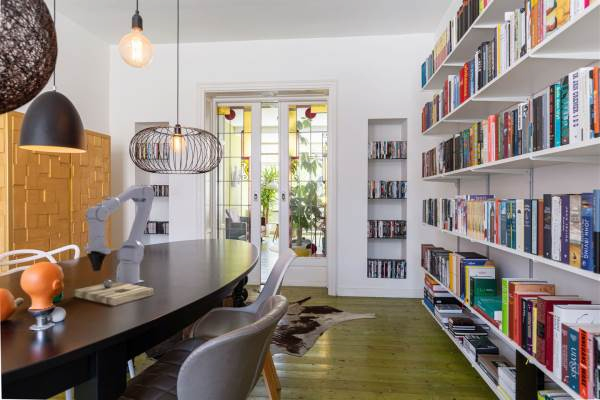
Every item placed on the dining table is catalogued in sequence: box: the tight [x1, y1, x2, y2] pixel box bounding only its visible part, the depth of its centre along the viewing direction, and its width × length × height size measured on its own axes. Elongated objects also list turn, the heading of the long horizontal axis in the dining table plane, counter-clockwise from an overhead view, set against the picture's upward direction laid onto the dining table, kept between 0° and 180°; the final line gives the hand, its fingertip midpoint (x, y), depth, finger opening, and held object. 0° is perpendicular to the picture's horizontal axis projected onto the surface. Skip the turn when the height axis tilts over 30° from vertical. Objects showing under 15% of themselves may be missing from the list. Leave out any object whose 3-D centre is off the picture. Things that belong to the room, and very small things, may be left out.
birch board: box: [74, 280, 154, 306], centre depth 135 cm, size 24×16×2 cm, turn 61°
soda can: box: [53, 266, 64, 303], centre depth 128 cm, size 5×5×12 cm
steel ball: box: [102, 279, 113, 288], centre depth 137 cm, size 3×3×3 cm
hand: (96, 270), depth 141 cm, fingers closed
